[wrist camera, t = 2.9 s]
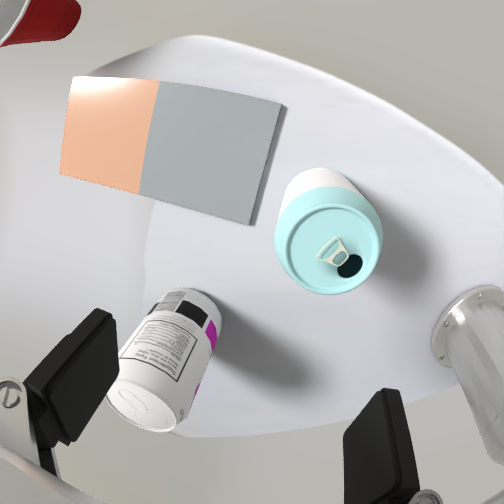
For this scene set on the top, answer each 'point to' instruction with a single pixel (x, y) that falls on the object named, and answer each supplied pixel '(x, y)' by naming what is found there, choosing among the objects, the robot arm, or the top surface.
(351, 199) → the can
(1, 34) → the plastic cup
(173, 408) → the supplement can
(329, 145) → the top surface
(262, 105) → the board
